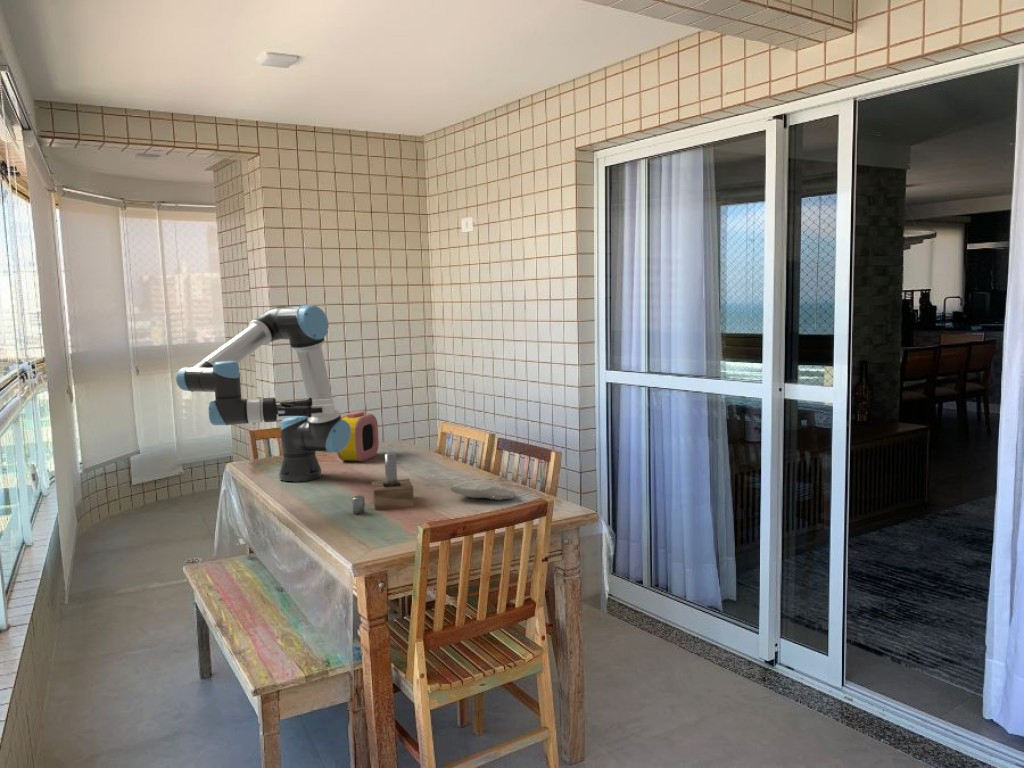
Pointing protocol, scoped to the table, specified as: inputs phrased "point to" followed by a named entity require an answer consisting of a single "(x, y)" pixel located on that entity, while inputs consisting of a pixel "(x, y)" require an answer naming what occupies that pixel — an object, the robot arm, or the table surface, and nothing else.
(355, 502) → the short peg
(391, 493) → the collar block
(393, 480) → the tall peg
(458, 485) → the rock
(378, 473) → the table surface
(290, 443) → the robot arm
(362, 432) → the alarm clock
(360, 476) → the table surface
